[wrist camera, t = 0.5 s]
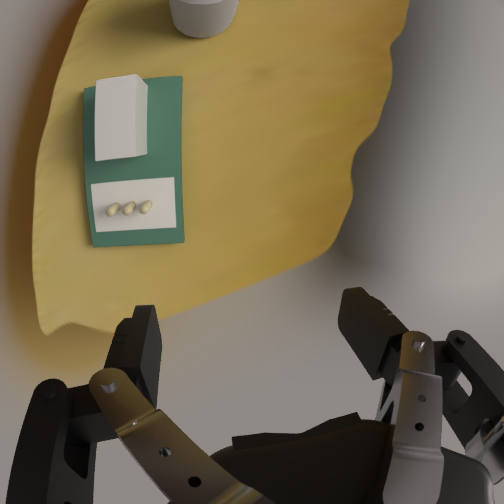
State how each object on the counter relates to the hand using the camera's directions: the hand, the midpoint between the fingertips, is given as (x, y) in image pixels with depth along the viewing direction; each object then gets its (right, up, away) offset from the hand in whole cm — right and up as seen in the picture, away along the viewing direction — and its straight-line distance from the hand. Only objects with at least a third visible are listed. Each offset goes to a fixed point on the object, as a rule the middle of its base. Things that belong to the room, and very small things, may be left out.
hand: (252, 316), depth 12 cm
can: (-6, +31, +14) cm, 35 cm away
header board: (-14, +13, +19) cm, 27 cm away
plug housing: (-14, +17, +16) cm, 28 cm away
